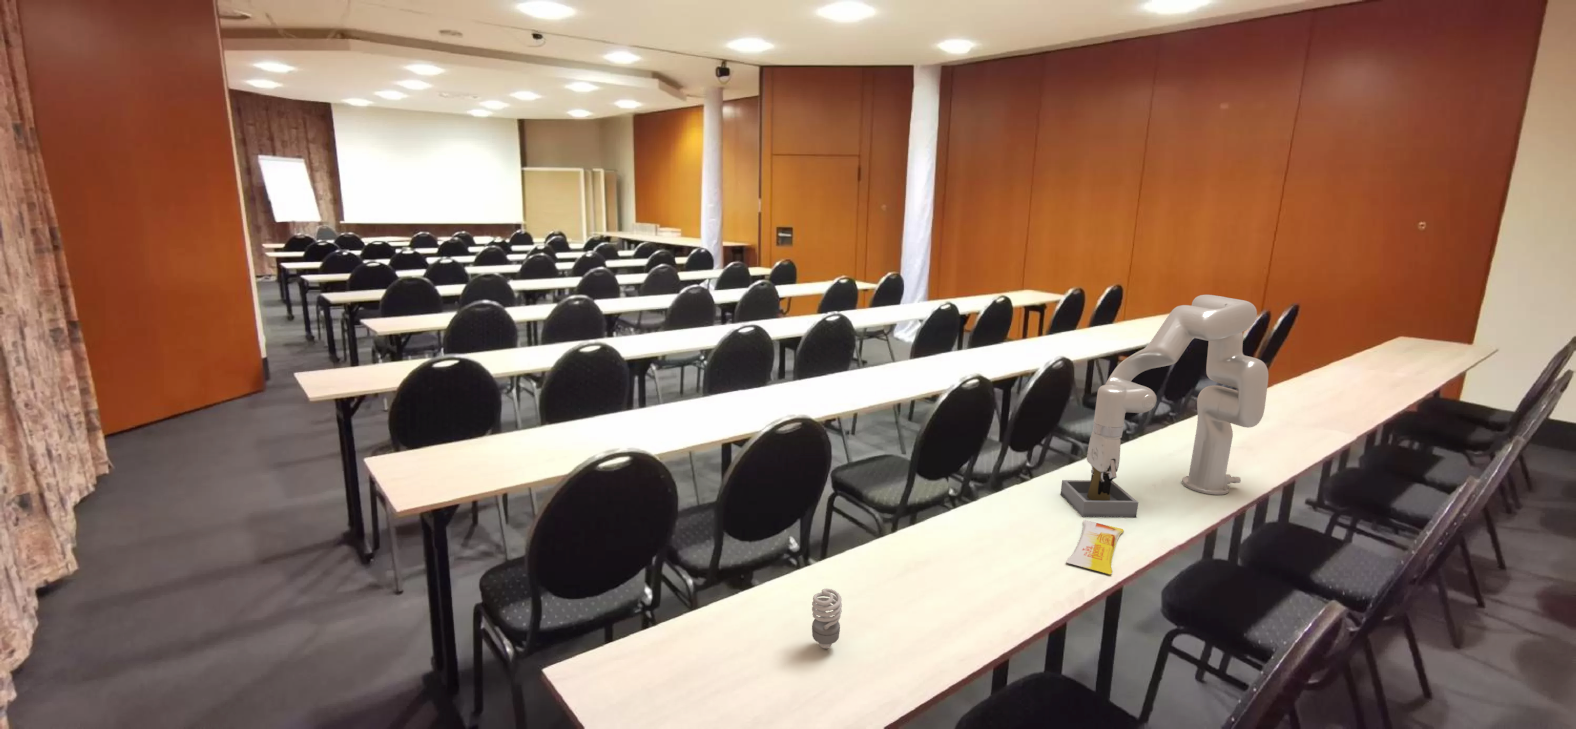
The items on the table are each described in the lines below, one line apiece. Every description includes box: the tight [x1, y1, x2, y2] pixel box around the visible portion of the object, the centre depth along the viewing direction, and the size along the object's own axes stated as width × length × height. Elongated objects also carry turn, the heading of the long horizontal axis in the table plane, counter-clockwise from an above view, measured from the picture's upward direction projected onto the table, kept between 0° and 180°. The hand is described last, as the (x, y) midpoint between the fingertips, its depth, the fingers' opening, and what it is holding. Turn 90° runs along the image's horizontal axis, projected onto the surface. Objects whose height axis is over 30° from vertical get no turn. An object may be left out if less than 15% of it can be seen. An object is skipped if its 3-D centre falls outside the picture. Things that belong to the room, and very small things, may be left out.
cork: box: [1087, 467, 1110, 501], centre depth 201 cm, size 6×6×11 cm
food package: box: [1066, 519, 1124, 575], centre depth 179 cm, size 27×2×10 cm
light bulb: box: [811, 588, 843, 649], centre depth 136 cm, size 6×6×12 cm
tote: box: [1060, 479, 1139, 519], centre depth 203 cm, size 15×15×4 cm
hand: (1099, 490), depth 202 cm, fingers closed on cork, 3 cm apart
